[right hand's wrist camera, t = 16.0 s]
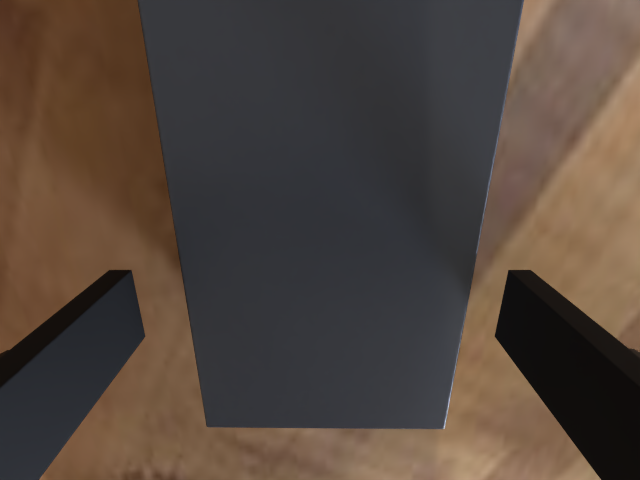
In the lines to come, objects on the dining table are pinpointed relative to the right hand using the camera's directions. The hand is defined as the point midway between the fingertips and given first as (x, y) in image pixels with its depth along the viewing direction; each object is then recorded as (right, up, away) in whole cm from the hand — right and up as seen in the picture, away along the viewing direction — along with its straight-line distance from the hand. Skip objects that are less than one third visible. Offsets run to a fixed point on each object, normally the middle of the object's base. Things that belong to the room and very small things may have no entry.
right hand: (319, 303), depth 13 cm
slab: (0, +22, -1) cm, 22 cm away
